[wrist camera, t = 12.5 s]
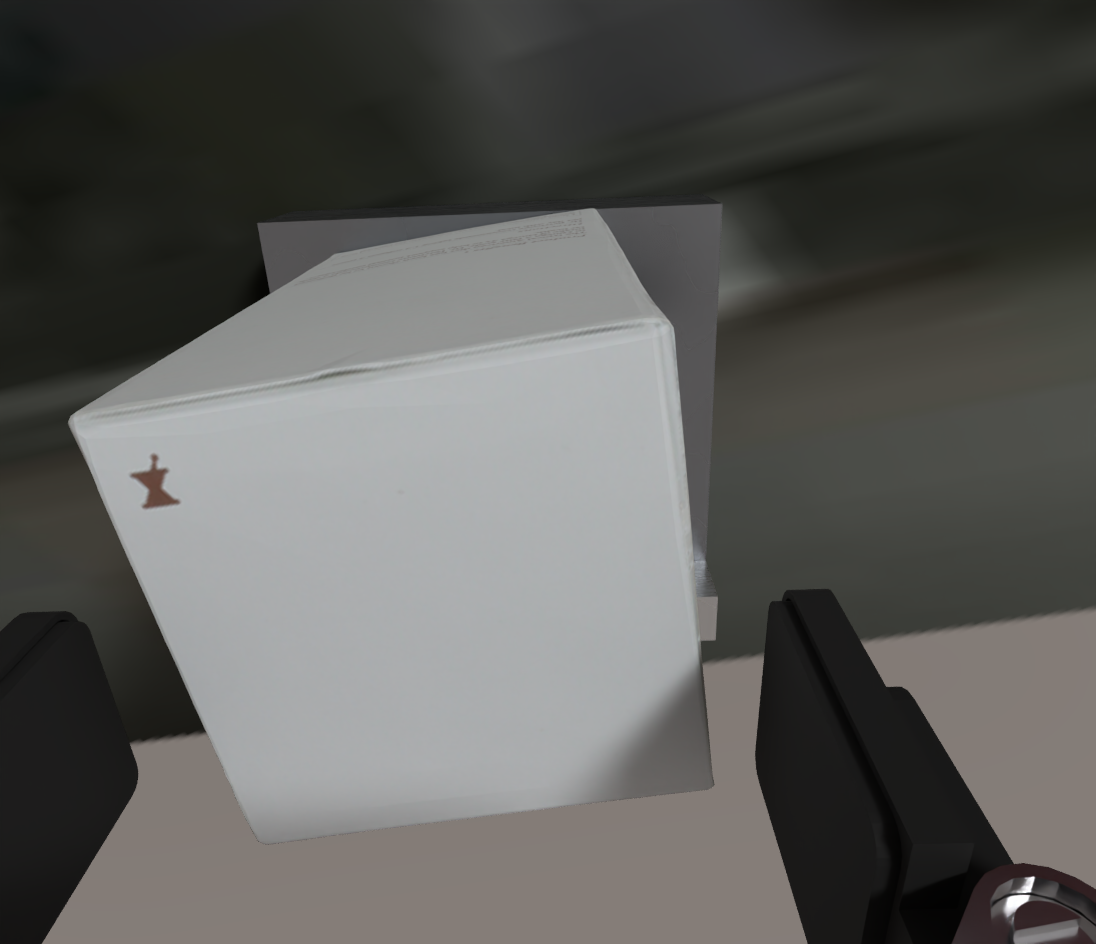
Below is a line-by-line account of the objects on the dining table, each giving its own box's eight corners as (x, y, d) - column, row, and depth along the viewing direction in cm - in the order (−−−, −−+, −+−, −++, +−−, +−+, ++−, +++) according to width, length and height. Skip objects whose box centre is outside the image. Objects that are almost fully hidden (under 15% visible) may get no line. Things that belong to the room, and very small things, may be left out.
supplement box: (395, 499, 24) (238, 860, 12) (328, 248, 21) (35, 405, 9) (640, 464, 23) (723, 807, 11) (608, 201, 20) (675, 304, 8)
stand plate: (293, 211, 23) (227, 232, 19) (702, 194, 23) (738, 211, 18) (351, 564, 28) (310, 650, 23) (689, 554, 28) (715, 640, 23)
